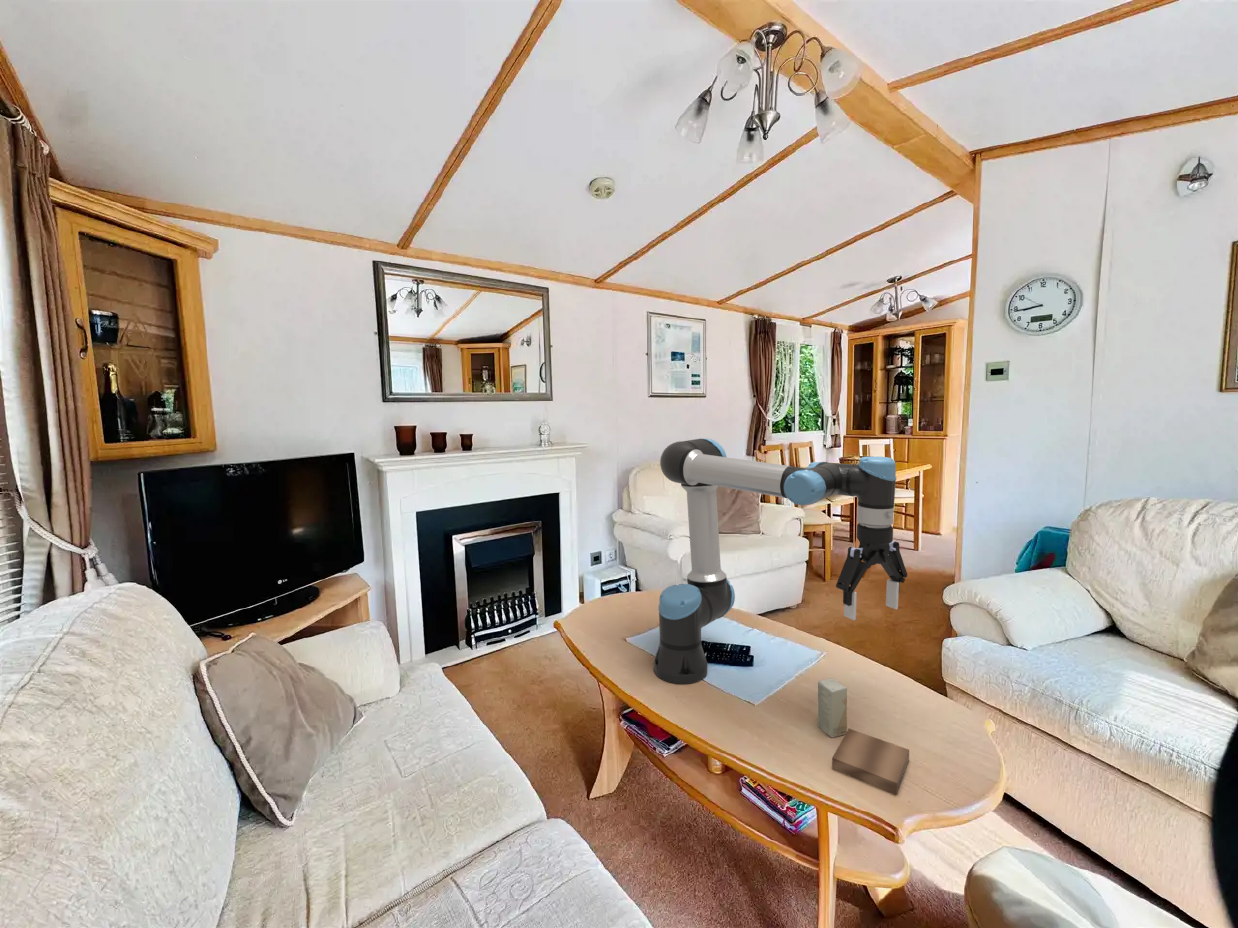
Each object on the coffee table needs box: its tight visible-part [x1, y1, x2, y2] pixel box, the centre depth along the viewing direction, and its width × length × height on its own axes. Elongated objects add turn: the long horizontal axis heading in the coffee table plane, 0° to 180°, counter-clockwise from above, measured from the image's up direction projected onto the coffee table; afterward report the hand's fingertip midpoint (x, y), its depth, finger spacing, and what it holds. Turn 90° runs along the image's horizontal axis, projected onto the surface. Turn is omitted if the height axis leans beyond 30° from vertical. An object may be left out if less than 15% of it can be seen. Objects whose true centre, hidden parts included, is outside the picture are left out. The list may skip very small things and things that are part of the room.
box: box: [817, 677, 848, 738], centre depth 119 cm, size 5×4×11 cm
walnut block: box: [831, 728, 910, 796], centre depth 108 cm, size 12×12×3 cm
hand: (871, 612), depth 122 cm, fingers open, 13 cm apart
